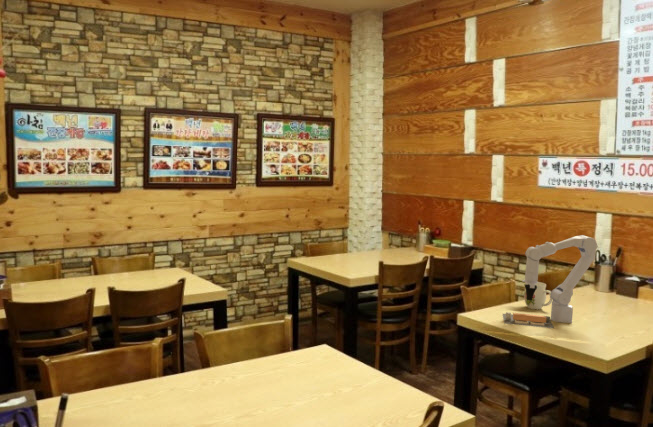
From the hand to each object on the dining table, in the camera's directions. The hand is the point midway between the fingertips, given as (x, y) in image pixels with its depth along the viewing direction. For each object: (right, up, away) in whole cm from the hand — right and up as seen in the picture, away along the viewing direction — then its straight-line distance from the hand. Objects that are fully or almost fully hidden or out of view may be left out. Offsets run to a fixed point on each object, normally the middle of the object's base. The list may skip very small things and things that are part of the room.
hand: (529, 299), depth 274 cm
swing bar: (-1, -9, -6) cm, 11 cm away
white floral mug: (+13, -9, +26) cm, 30 cm away
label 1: (-5, -10, -4) cm, 12 cm away
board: (-2, -11, -2) cm, 11 cm away
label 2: (+1, -10, -6) cm, 12 cm away
